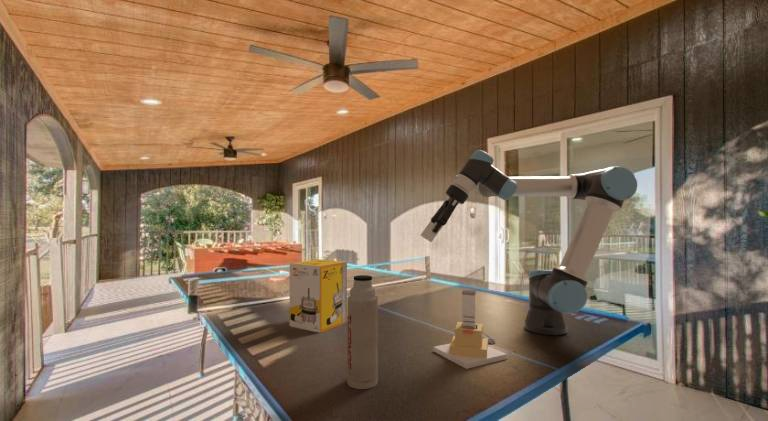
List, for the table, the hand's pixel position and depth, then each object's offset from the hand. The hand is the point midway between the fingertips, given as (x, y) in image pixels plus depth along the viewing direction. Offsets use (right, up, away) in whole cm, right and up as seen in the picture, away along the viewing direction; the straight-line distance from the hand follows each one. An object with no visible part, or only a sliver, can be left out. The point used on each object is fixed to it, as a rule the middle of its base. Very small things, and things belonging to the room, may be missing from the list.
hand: (425, 238), depth 134 cm
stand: (+12, -36, -14) cm, 40 cm away
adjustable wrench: (+19, -37, +9) cm, 42 cm away
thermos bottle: (-20, -36, -34) cm, 53 cm away
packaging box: (-41, -36, +20) cm, 58 cm away
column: (+12, -33, -14) cm, 38 cm away
